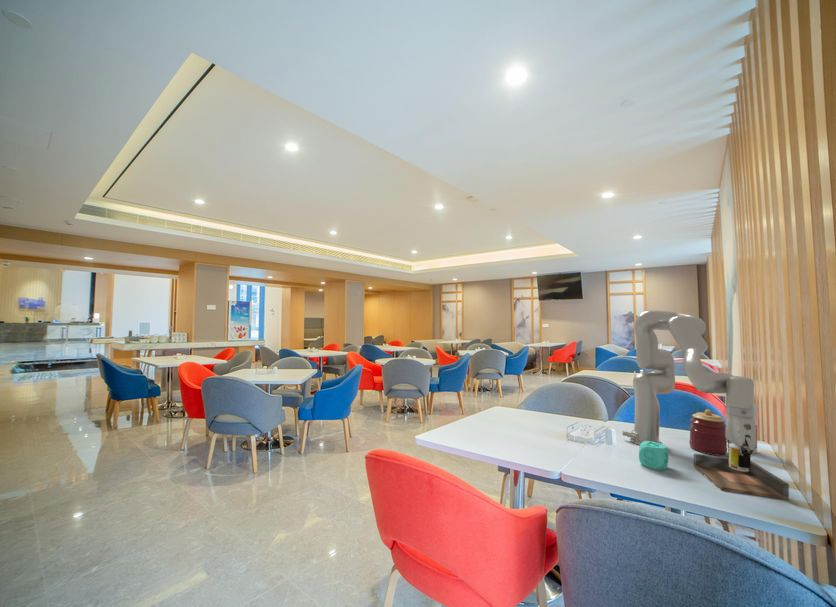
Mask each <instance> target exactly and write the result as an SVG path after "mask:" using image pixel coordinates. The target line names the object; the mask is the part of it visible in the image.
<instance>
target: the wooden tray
mask: <svg viewBox="0 0 836 607" xmlns="http://www.w3.org/2000/svg"><path fill="white" fill-rule="evenodd" d="M694 467H695V468H694ZM693 468H694V469H696V471H698V472H699V471H700V472H701V473H702V475H703V476H704V475H705V476H706V477H707V478H708V479H707V478H706V477H705V476H704V477H705V478H706V479H707V480H709V481H710V482H711V483H712V482H713V483H714V484H715V485H714V484H713V483H712V484H713V485H714V486H715V487H716V488H718V489H719V488H720V489H721V490H720V489H719V490H720V491H723V490H726V491H725V492H730V491H733V492H732V493H737V492H739V493H738V494H744V495H752V496H758V497H764V498H765V497H766V498H771V499H778V500H779V499H780V500H785V501H789V499H790V498H789V495H790V493H789V492H790V484H789V482H786V481H784V480H783V479H781V478H780V477H778V476H776V475H775V474H773V473H771V472H770V471H768V470H766V469H765V468H763V467H762V466H760V464H759V465H758V464H757V463H755V462H754V461H752V460H750V470H749V471H748V472H742V471H737V470H734V469H732V468H730V467H729V459H728V457H724V456H723V457H722V456H718V455H710V454H699V453H693ZM700 472H699V473H700Z"/></svg>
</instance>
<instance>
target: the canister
mask: <svg viewBox="0 0 836 607" xmlns="http://www.w3.org/2000/svg"><path fill="white" fill-rule="evenodd" d="M691 416H692V418H690V419H689V422H690V426H689V447H690V448H691V449H692V450H694V449H695V450H694V451H697V452H700V451H701V452H700V453H703V452H705V453H704V454H707V453H709V454H708V455H712V454H714V455H713V456H725V455H727V453H728V442H727V438H726V434H725V428H726V419H725V418H723V417H721V415H718V414H716V413H715V414H714V413H713V411H712V410H711V409H705V410H704V412H699V411H697V412H696V413H694V414H692V415H691Z"/></svg>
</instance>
